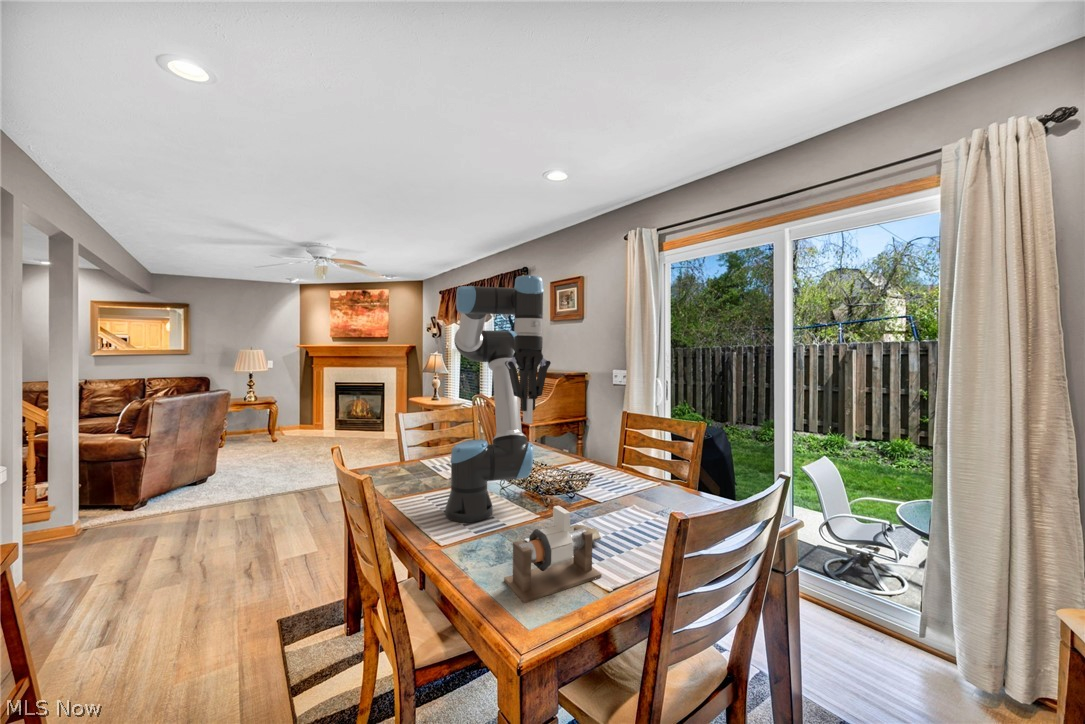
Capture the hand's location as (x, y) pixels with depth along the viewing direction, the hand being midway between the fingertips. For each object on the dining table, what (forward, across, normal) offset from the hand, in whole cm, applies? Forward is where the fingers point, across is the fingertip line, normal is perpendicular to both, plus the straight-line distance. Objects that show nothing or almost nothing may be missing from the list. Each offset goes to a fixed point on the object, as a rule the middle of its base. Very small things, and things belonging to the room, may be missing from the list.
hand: (527, 422), depth 118 cm
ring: (+31, -6, -17) cm, 36 cm away
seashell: (+35, +15, -4) cm, 38 cm away
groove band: (+29, -6, -17) cm, 34 cm away
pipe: (+29, -2, -17) cm, 33 cm away
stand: (+34, -2, -17) cm, 38 cm away
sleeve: (+30, -2, -17) cm, 35 cm away
